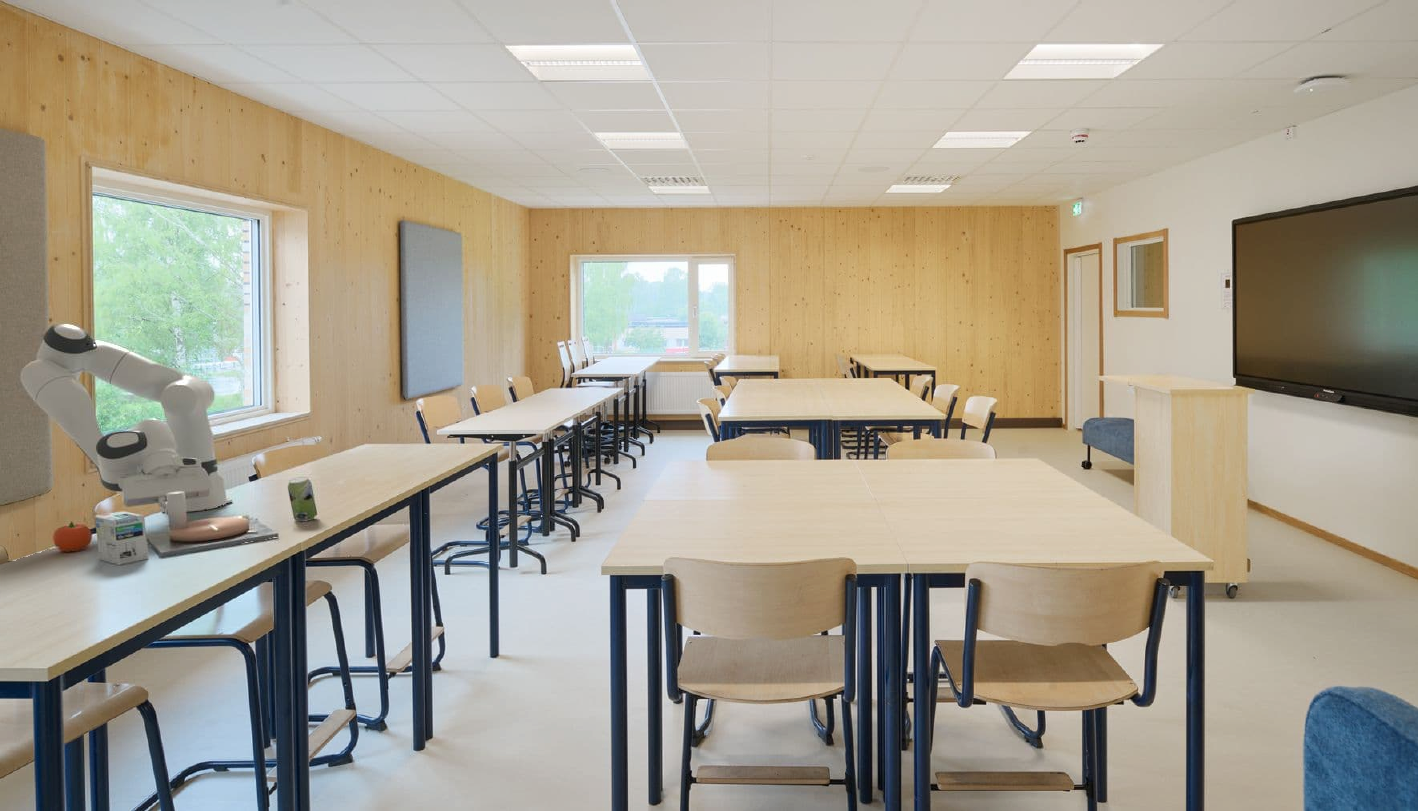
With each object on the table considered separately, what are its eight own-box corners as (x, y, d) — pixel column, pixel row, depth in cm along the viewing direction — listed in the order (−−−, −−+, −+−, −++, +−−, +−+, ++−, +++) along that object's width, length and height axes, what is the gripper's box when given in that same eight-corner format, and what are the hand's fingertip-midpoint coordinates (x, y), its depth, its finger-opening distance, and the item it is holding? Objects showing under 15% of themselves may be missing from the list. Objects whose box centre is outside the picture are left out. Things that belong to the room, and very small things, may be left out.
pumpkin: (99, 548, 225) (96, 519, 224) (63, 556, 218) (60, 526, 217) (83, 545, 229) (81, 516, 228) (48, 552, 222) (45, 523, 221)
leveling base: (143, 538, 234) (142, 528, 234) (252, 521, 250) (252, 512, 250) (161, 557, 214) (160, 546, 214) (278, 537, 230) (277, 527, 230)
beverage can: (321, 517, 254) (318, 475, 253) (307, 523, 246) (304, 480, 245) (300, 517, 254) (297, 475, 253) (285, 523, 247) (282, 480, 246)
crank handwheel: (163, 532, 233) (159, 491, 232) (240, 521, 245) (236, 481, 243) (176, 545, 219) (172, 500, 218) (257, 532, 231) (253, 490, 230)
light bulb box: (149, 559, 213) (145, 514, 212) (118, 566, 207) (113, 520, 206) (128, 553, 219) (124, 509, 218) (97, 560, 213) (93, 515, 212)
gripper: (116, 468, 230) (125, 511, 224) (206, 458, 243) (217, 499, 237) (116, 483, 234) (124, 526, 228) (204, 473, 247) (215, 513, 241)
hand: (172, 512), depth 232 cm, fingers closed
